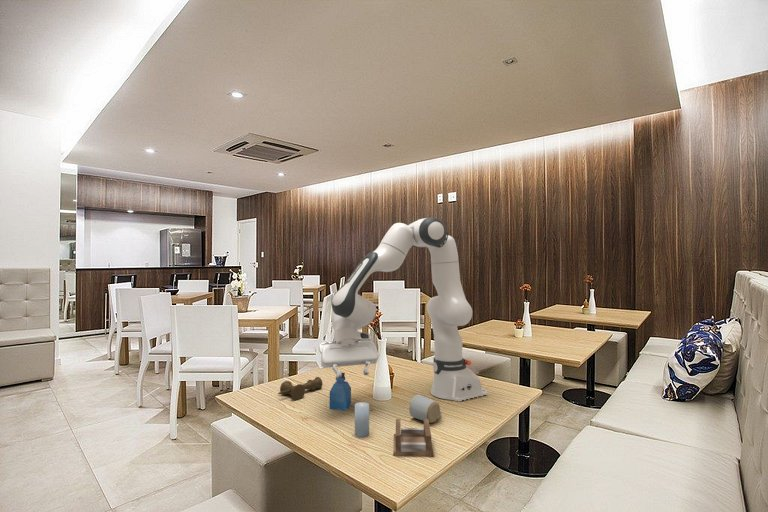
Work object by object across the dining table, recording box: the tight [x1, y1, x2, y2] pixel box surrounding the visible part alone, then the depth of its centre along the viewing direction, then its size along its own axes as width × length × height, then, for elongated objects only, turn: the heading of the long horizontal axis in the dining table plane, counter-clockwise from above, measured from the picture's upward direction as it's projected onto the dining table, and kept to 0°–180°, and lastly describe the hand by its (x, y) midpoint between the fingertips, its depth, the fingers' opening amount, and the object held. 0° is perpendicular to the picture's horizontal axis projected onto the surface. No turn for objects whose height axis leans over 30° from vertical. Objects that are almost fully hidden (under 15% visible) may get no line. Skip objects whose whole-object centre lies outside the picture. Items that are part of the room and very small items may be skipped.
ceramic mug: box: [408, 394, 442, 424], centre depth 129 cm, size 11×8×8 cm
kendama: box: [277, 376, 323, 401], centre depth 152 cm, size 6×10×20 cm
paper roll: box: [354, 401, 370, 438], centre depth 117 cm, size 4×4×9 cm
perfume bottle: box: [329, 372, 352, 411], centre depth 140 cm, size 6×6×12 cm
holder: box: [392, 418, 435, 457], centre depth 109 cm, size 11×11×6 cm
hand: (353, 375), depth 129 cm, fingers open, 8 cm apart
